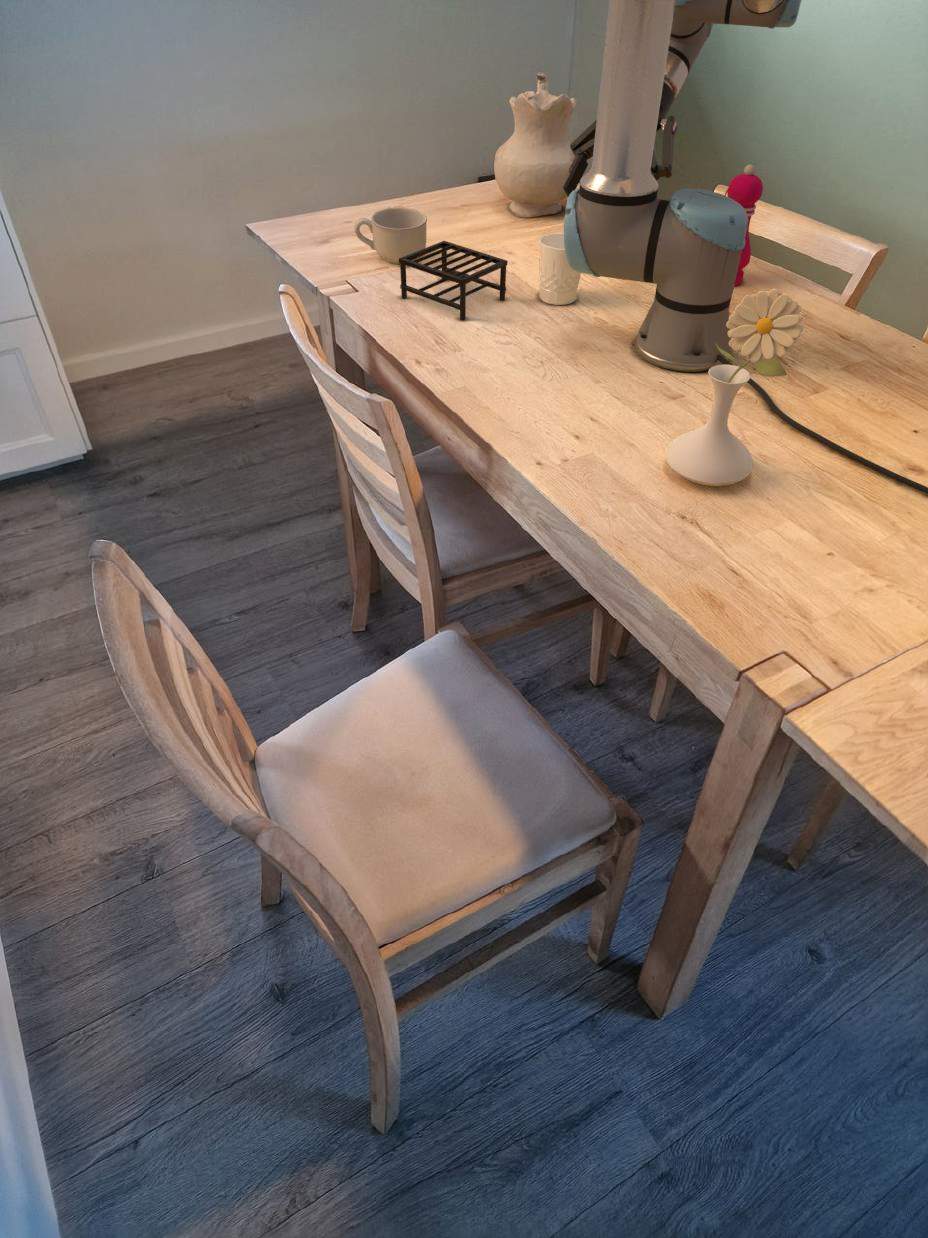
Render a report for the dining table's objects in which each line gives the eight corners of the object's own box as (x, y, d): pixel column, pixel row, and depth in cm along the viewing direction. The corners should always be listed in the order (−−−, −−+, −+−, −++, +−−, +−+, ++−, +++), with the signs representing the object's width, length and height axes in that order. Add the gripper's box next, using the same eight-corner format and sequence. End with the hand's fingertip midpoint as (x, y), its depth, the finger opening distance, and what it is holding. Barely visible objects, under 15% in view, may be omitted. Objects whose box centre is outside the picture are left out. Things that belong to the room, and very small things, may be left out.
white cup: (529, 291, 154) (533, 235, 147) (569, 287, 156) (574, 231, 149) (545, 308, 149) (550, 251, 142) (586, 303, 150) (592, 246, 143)
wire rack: (506, 299, 151) (507, 260, 147) (463, 320, 145) (463, 280, 140) (444, 278, 158) (443, 240, 154) (400, 297, 152) (398, 258, 147)
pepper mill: (752, 284, 157) (780, 168, 144) (720, 289, 155) (745, 172, 142) (730, 270, 162) (755, 156, 149) (698, 275, 160) (721, 160, 147)
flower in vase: (645, 469, 111) (680, 280, 94) (694, 437, 117) (735, 255, 100) (730, 510, 105) (784, 316, 87) (777, 475, 110) (837, 286, 93)
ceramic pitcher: (486, 198, 197) (480, 75, 179) (566, 187, 198) (568, 64, 181) (505, 230, 181) (501, 99, 164) (592, 218, 183) (597, 86, 165)
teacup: (431, 249, 169) (430, 207, 164) (424, 270, 161) (422, 226, 156) (363, 246, 170) (360, 205, 165) (353, 266, 162) (349, 223, 157)
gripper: (724, 114, 144) (664, 228, 146) (603, 92, 155) (549, 198, 157) (716, 83, 137) (653, 203, 139) (590, 62, 149) (534, 173, 151)
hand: (598, 200), depth 148 cm, fingers open, 13 cm apart
